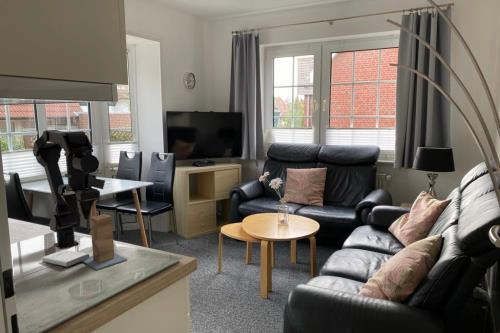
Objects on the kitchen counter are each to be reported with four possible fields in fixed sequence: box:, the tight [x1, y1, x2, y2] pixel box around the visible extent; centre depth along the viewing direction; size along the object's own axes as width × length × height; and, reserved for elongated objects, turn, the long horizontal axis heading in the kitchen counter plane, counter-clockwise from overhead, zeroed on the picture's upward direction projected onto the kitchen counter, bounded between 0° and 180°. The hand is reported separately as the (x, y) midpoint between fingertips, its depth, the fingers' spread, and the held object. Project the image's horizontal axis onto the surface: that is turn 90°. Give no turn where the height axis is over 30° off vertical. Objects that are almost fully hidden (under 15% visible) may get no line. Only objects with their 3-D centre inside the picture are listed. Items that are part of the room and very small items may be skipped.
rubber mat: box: [81, 252, 128, 271], centre depth 117 cm, size 11×10×1 cm
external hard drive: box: [41, 249, 91, 267], centre depth 117 cm, size 2×8×12 cm
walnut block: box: [89, 213, 115, 263], centre depth 116 cm, size 4×5×14 cm
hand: (80, 216), depth 121 cm, fingers open, 9 cm apart
